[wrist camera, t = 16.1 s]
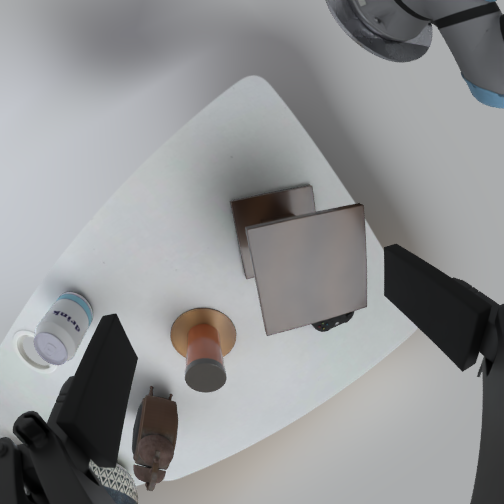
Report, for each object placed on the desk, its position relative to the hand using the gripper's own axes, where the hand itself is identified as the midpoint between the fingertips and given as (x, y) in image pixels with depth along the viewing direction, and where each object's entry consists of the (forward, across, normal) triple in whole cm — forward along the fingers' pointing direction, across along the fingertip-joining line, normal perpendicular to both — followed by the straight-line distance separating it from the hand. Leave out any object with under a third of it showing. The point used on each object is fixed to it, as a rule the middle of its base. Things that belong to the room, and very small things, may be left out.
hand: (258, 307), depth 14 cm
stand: (+30, +7, -7) cm, 32 cm away
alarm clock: (+30, -23, -35) cm, 52 cm away
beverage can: (+30, -28, -11) cm, 43 cm away
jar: (+30, -8, -22) cm, 38 cm away
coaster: (+30, -8, -22) cm, 38 cm away
